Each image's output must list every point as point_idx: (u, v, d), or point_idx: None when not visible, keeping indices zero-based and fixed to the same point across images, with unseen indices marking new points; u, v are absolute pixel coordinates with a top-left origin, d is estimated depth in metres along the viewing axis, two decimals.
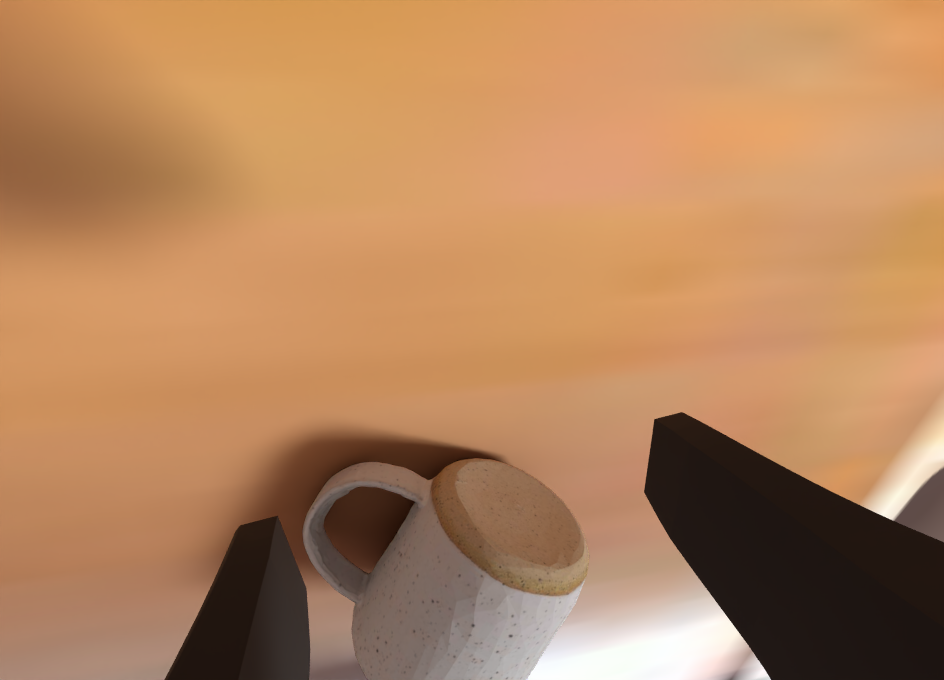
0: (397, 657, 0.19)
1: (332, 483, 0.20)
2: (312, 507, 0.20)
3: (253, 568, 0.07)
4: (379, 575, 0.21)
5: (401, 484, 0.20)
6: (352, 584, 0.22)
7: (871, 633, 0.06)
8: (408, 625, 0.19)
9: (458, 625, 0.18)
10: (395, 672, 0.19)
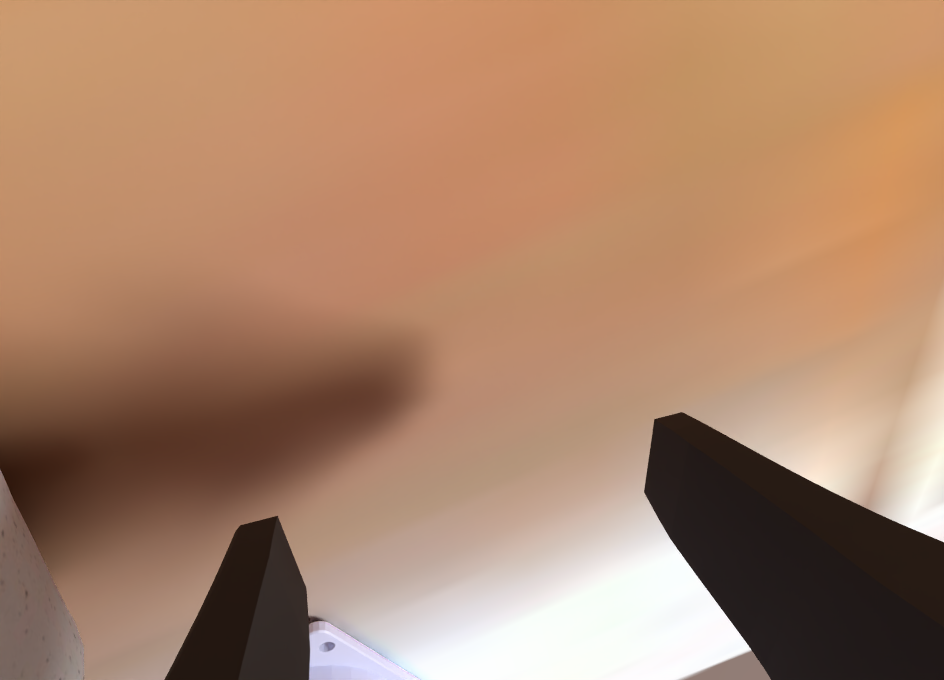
0: None
1: None
2: None
3: (253, 568, 0.07)
4: None
5: None
6: None
7: (871, 633, 0.06)
8: None
9: None
10: None
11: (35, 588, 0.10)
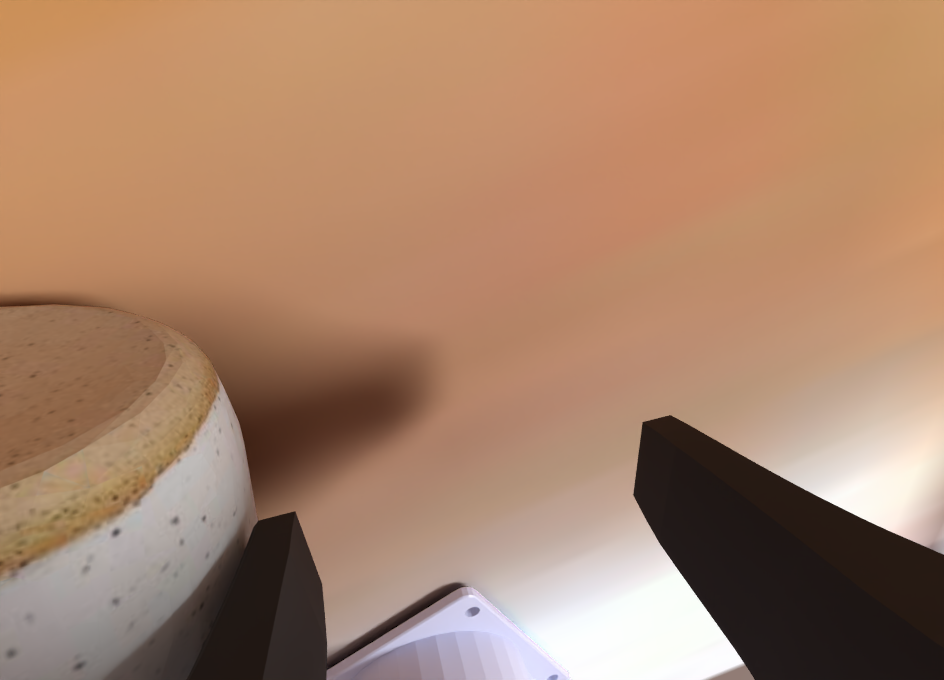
0: None
1: None
2: None
3: (274, 562, 0.08)
4: None
5: None
6: None
7: (854, 639, 0.06)
8: None
9: None
10: None
11: None
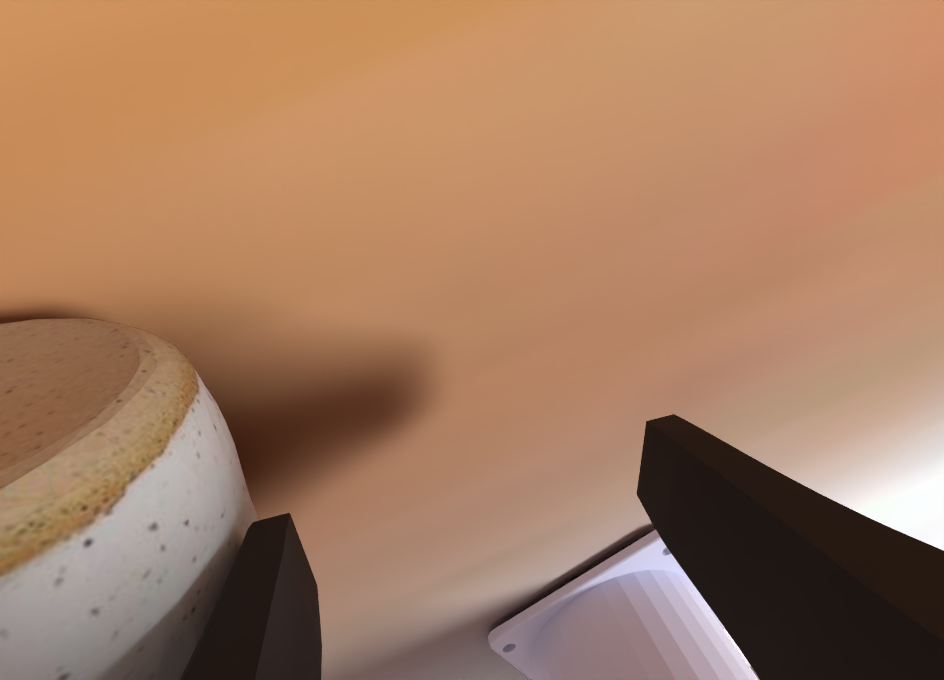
0: None
1: None
2: None
3: (268, 564, 0.08)
4: None
5: None
6: None
7: (859, 637, 0.06)
8: None
9: None
10: None
11: None
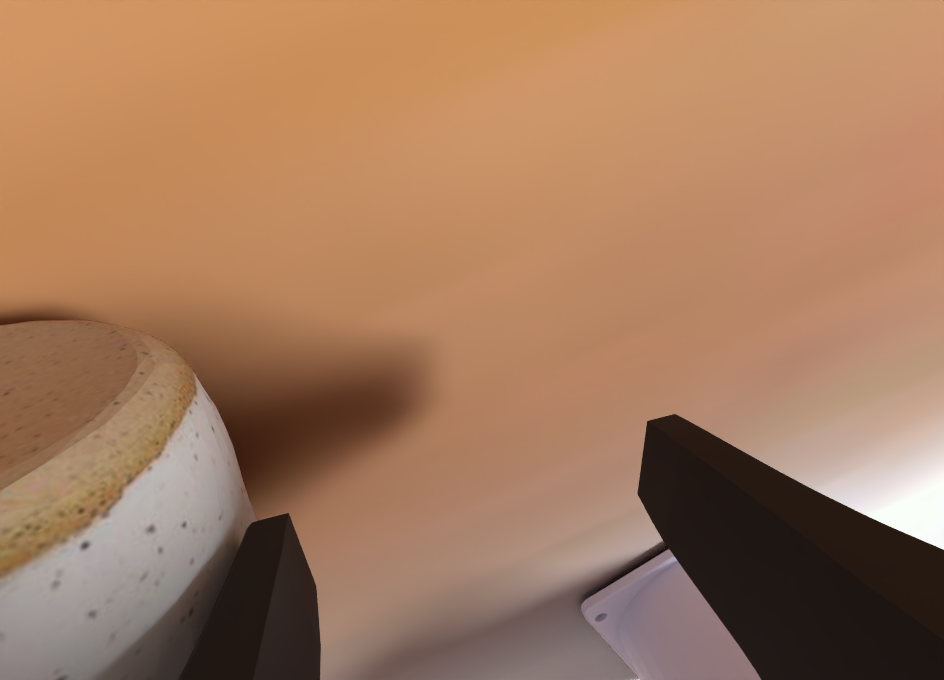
0: None
1: None
2: None
3: (266, 565, 0.08)
4: None
5: None
6: None
7: (861, 637, 0.06)
8: None
9: None
10: None
11: None
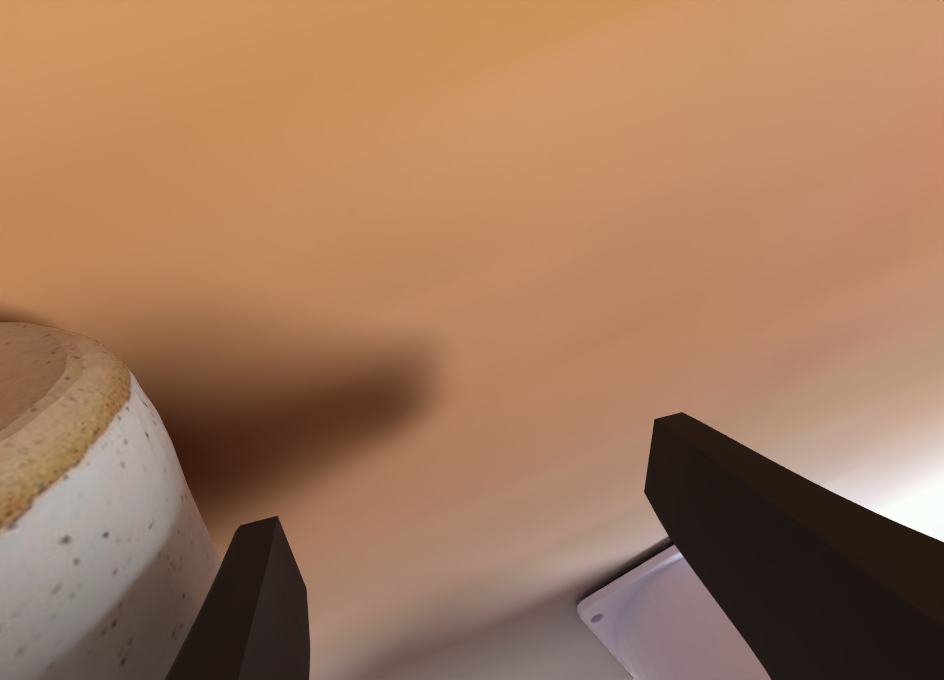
0: None
1: None
2: None
3: (253, 568, 0.07)
4: None
5: None
6: None
7: (871, 633, 0.06)
8: None
9: None
10: None
11: (211, 552, 0.10)
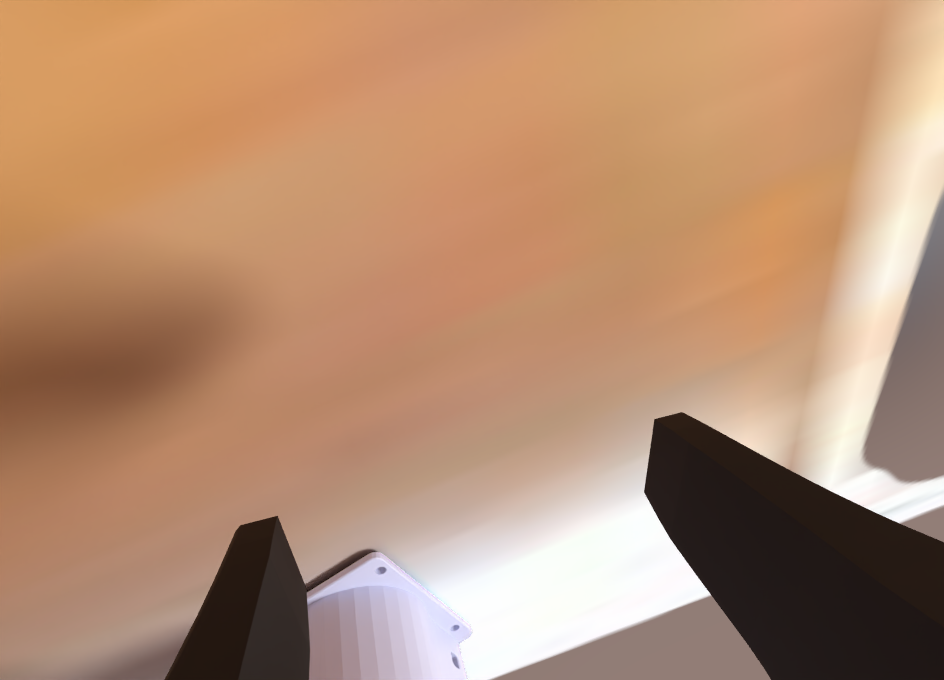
0: None
1: None
2: None
3: (254, 567, 0.07)
4: None
5: None
6: None
7: (871, 633, 0.06)
8: None
9: None
10: None
11: None
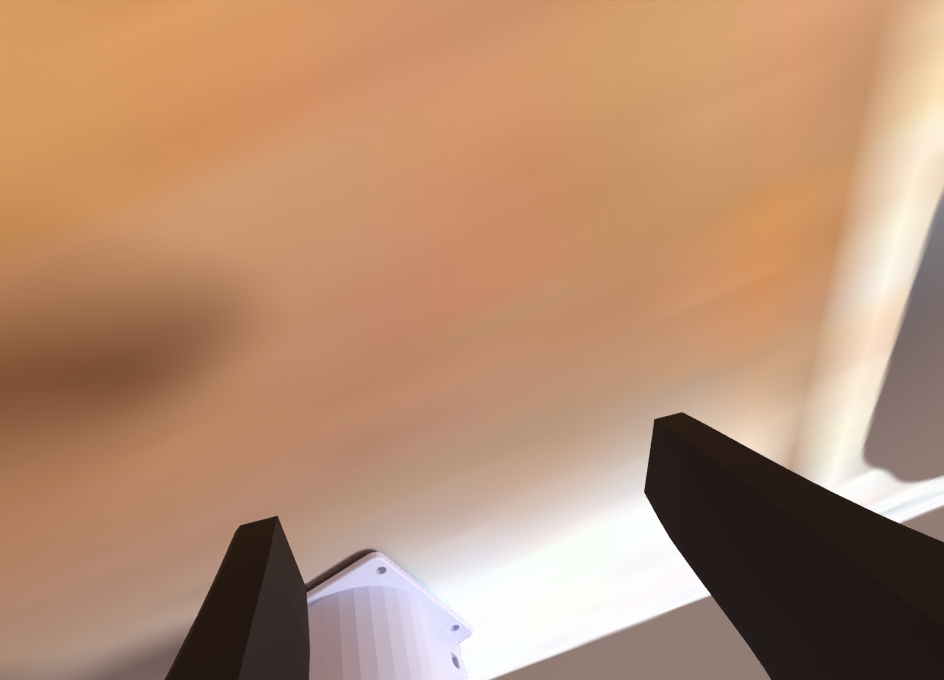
0: None
1: None
2: None
3: (254, 567, 0.07)
4: None
5: None
6: None
7: (871, 633, 0.06)
8: None
9: None
10: None
11: None
